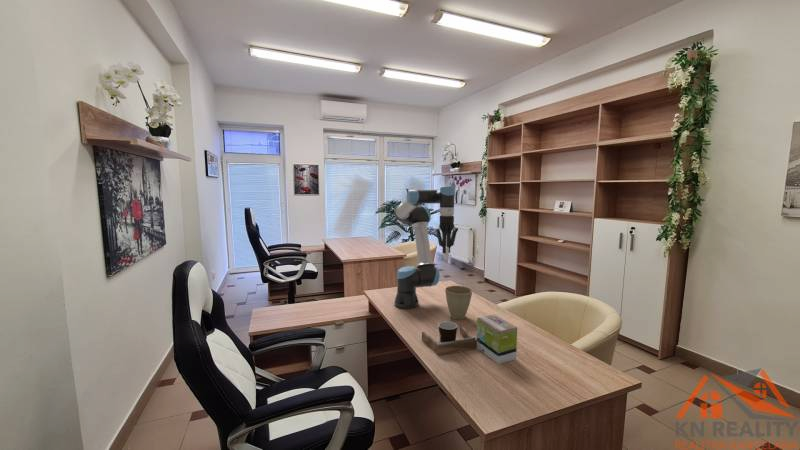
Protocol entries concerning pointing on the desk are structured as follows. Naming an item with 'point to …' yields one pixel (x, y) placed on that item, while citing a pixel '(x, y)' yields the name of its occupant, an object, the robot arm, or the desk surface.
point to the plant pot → (458, 300)
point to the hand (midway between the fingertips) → (446, 259)
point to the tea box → (497, 338)
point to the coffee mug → (447, 331)
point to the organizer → (451, 343)
